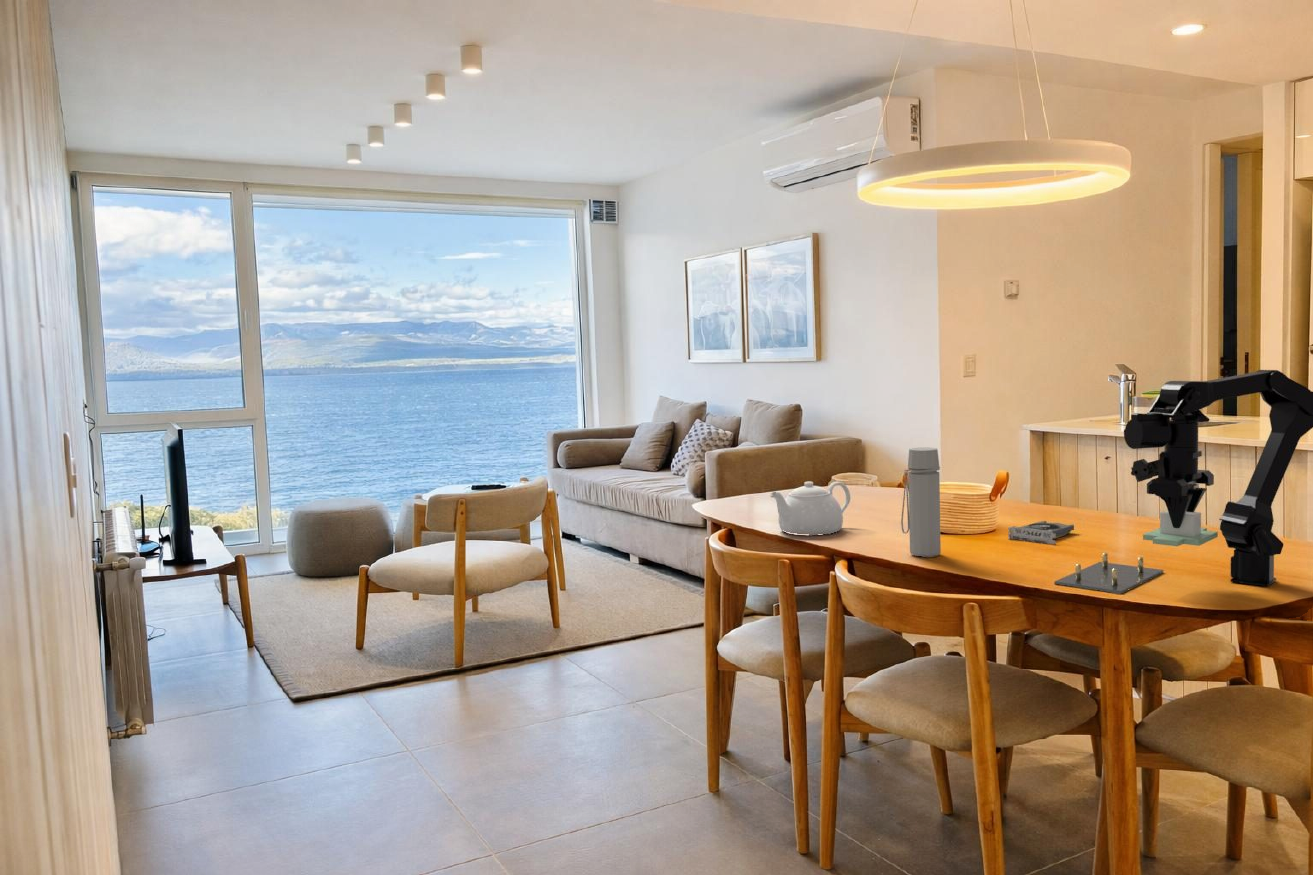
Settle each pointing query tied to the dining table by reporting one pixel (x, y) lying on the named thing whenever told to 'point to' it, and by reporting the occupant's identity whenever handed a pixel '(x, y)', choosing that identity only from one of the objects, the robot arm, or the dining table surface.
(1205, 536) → the board
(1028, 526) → the graphics card
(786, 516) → the teapot
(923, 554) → the water bottle
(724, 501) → the dining table surface
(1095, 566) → the plate
